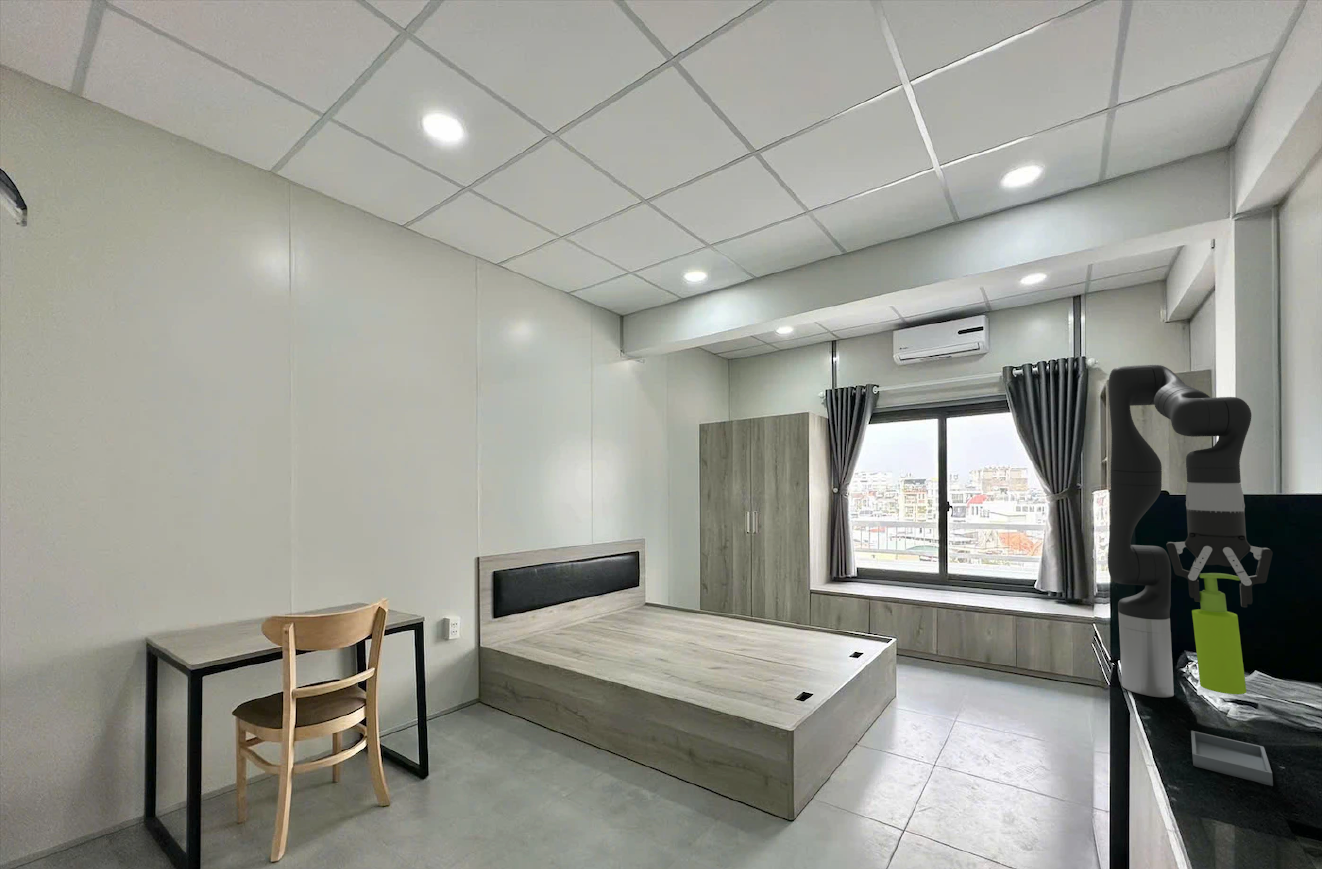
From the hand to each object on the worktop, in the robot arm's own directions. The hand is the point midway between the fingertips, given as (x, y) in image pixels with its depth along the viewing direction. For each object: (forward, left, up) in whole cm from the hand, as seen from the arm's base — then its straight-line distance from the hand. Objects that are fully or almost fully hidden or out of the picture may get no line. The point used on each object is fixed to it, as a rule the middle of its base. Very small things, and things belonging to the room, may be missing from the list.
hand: (1220, 603), depth 102 cm
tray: (0, 0, -27) cm, 27 cm away
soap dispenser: (0, 0, -15) cm, 15 cm away
